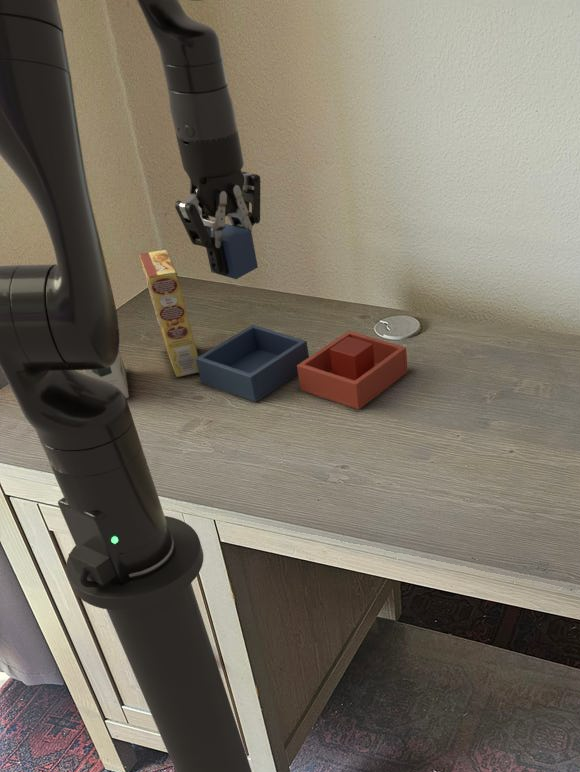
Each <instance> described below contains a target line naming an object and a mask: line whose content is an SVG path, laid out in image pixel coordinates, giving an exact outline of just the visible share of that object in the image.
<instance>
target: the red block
mask: <svg viewBox="0 0 580 772" xmlns="http://www.w3.org/2000/svg"><path fill="white" fill-rule="evenodd" d="M330 355H331V362H332V370H333V374H335V375H338V376H341V377H345V378H348V379H351V380H354V381H355V380H357V379H358V378H359V377H361V376H362V375H363V374H365V373H366V372H368V371H369V370H370V369H372V368H373V367H374V366H375V363H374V352H373V344H371V343H368V342H365V341H361V340H358V339H355V338H351V337H347V338H345V339H344V340H342V341H341V342H339V343H338V344H336V345H335V346H333V347H332V348H331V349H330Z"/></svg>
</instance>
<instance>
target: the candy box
mask: <svg viewBox="0 0 580 772" xmlns="http://www.w3.org/2000/svg"><path fill="white" fill-rule="evenodd" d="M139 260H140V263H141V267H142V270H143V274H144V277H145V278H144V279H145V281H146V285H147V288H148V291H149V292H148V293H149V295H150V299H151V302H152V306H153V309H154V312H155V313H154V314H155V316H156V320H157V323H158V327H159V330H160V334H161V336H162V340H163V343H164V345H165V349H166V352H167V355H168V359H169V361H170V364H171V367H172V370H173V371H174V374H175V376H176V378H180V377H183V376H190V375H193V374H199V371H198V367H197V363H196V358H197V357H199V353H198V349H197V346H196V342H195V337H194V334H193V330H192V326H191V323H190V318H189V315H188V311H187V307H186V303H185V299H184V296H183V292H182V287H181V285H180V280H179V277H178V272H177V269H176V268H175V266H174V263H173V261H172V259H171V257H170V255H169V253H168V250H167V249H163V250H162V249H161V250H157V251H150V252H143V253H140V254H139Z"/></svg>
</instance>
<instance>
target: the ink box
mask: <svg viewBox="0 0 580 772" xmlns="http://www.w3.org/2000/svg"><path fill="white" fill-rule="evenodd" d="M82 371H83V374H85V375H87V376H90V377H93V378H96V379H99V380H102V381H105V382H108V383H110V384H112V385H114V386H115V387H117V388H118V389H119V390H120V391H121V392H122V393H123V394H124V396H125V398H126V399H129V397H130V395H129V387H128V379H127V378H128V377H127V371H126V368H125V364H124V361H123V358H122V355H121V351H120V350H119V352H118V355H117V358H116V360H115V362H114V364H113V365H111V366H110V367H108V368H104V369H94V370H82Z"/></svg>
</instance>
